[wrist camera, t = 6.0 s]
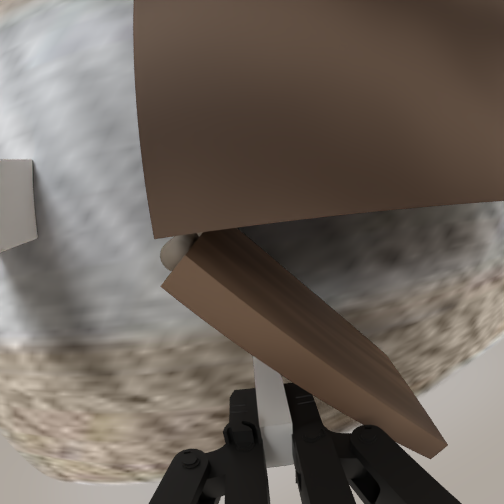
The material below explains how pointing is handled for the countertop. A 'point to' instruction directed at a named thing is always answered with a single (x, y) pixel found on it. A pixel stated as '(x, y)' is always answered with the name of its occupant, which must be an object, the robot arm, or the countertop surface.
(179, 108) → the cabinet
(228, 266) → the door
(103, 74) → the countertop surface
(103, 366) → the countertop surface
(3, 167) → the milk
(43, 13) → the countertop surface
